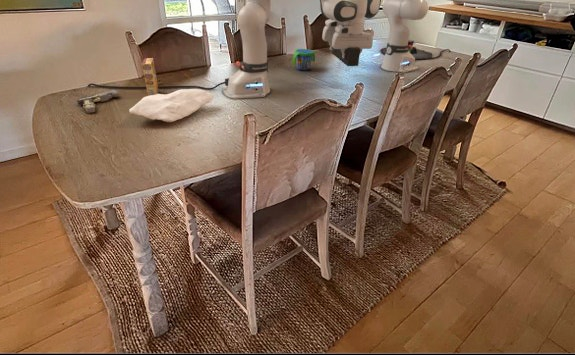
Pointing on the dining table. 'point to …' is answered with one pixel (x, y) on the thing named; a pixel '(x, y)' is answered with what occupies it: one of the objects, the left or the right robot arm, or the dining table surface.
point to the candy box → (150, 76)
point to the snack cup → (303, 58)
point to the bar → (348, 56)
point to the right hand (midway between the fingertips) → (339, 49)
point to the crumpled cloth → (171, 104)
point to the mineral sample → (414, 51)
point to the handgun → (95, 100)
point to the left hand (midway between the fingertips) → (350, 57)
